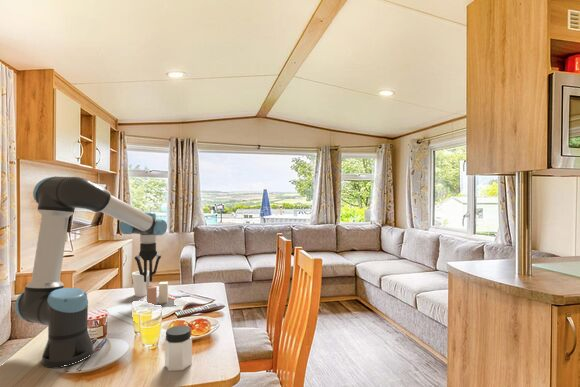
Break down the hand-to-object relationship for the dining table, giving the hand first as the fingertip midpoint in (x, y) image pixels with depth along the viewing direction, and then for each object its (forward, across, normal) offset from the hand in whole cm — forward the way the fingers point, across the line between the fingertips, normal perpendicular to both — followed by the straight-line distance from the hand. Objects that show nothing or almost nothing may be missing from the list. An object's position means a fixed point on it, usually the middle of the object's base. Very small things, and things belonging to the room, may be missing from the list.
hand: (148, 287), depth 172 cm
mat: (+8, -10, 0) cm, 13 cm away
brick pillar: (+8, -2, +6) cm, 10 cm away
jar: (+9, -18, +65) cm, 68 cm away
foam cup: (+9, +6, -15) cm, 18 cm away
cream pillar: (+8, -8, 0) cm, 11 cm away
